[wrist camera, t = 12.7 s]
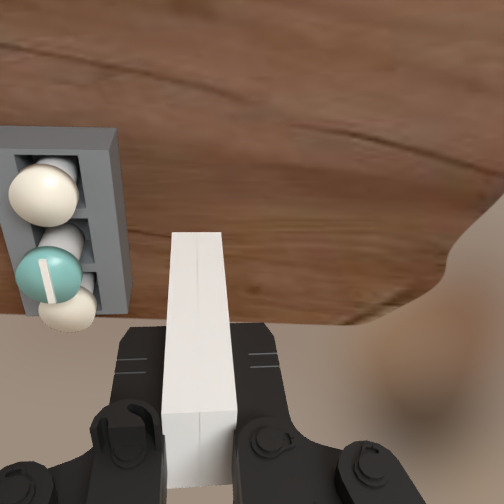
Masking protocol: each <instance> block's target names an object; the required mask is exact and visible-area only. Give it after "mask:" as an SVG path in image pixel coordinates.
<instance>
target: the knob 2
mask: <svg viewBox="0 0 504 504" xmlns="http://www.w3.org/2000/svg"><path fill="white" fill-rule="evenodd" d="M96 279H97V273H96V272H83V278H82V281H81V285H80V288H79V291H78V293H77V294H76V295H75V296H74V297H73V298H72V299H70V300H68V301H66V302H63V303H58V304H47V303H42V302H40V305H39V308H38V312H39V316H40V318H41V319H42V321H43V322H44V323H45V324H46V325H47V326H49V327H50V328H52V329H54V330H57V331H60V332H67V333H73V332H79V331H82V330H84V329H86V328H88V327H89V326H90V325H91V324H92V323H93V321H94V317H95V313H96V309H97V301H96V299H95V297H94V295H93V290H94V287H95V283H96Z"/></svg>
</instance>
